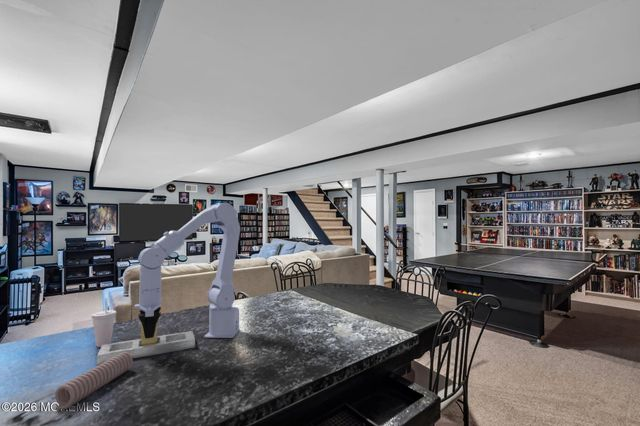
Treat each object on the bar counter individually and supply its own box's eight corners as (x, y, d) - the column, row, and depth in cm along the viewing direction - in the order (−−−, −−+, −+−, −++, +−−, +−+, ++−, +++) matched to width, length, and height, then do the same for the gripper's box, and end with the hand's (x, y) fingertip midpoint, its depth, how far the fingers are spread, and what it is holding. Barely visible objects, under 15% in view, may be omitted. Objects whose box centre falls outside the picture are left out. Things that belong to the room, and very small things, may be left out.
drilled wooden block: (159, 337, 93) (160, 317, 93) (159, 342, 89) (160, 320, 90) (138, 341, 90) (138, 319, 90) (137, 345, 87) (138, 323, 87)
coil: (118, 351, 79) (49, 387, 61) (134, 350, 79) (70, 386, 61) (119, 369, 79) (50, 411, 61) (136, 368, 78) (71, 410, 61)
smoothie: (120, 342, 96) (121, 297, 96) (98, 350, 90) (99, 302, 91) (107, 339, 99) (108, 295, 99) (85, 346, 93) (86, 300, 93)
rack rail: (192, 338, 99) (192, 330, 99) (194, 347, 92) (194, 338, 92) (102, 353, 88) (102, 344, 88) (97, 364, 81) (97, 355, 81)
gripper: (136, 285, 95) (135, 330, 94) (132, 294, 82) (131, 346, 82) (161, 283, 98) (161, 326, 98) (162, 292, 85) (161, 341, 85)
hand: (149, 335), depth 90 cm, fingers closed on drilled wooden block, 4 cm apart
